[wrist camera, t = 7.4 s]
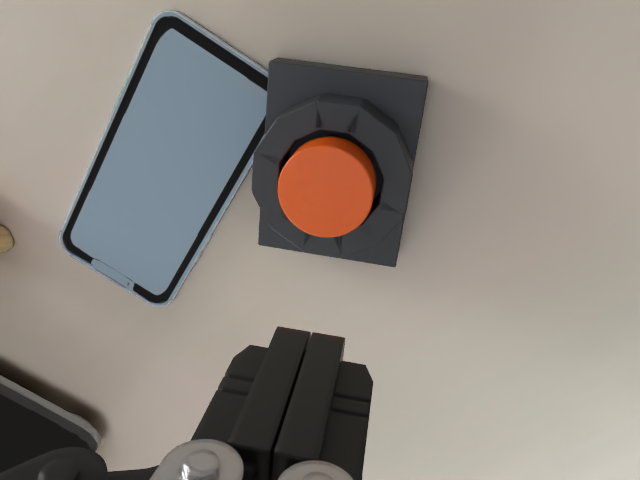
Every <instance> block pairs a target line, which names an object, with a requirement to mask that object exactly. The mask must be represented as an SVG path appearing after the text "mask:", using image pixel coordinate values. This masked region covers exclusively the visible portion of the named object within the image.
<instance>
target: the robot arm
mask: <svg viewBox="0 0 640 480" xmlns="http://www.w3.org/2000/svg"><path fill="white" fill-rule="evenodd" d="M344 345H345V338H343V337H338V336H332V335H326V334H320V333H314V332H313V333H312V335H311V333H310V332H307V331H302V330H296V329H290V328H284V327H277V329H276V331H275V333H274V336H273V338H272V340H271V342H270V345H269V347H268V348H265V347H259V346H253V345H250V346H248V347H247V348H246V349H244V350H243V351H242V352H240V353H239V354H238V355H236V356H235V357H234V358H233V360H232V362H231V364H230V366H229V367H228V369H227V371H226V373H225V377H223V379H222V381H221V383H220V385H219V387H218V390H217V391H216V393H215V395H214V396H213V398H212V400H211V402H210V404H209V406H208V408H207V410H206V412H205V414H204V416H203V418H202V420H201V422H200V423H199V425H198V427H197V429H196V431H195V433H194V435H193V437H192V439H191V441H189V442H186V443H183V444H181V445H179V446H177V447H176V448H174V449H173V450H171V451H170V452H169V453H168V454H167V455H166V456H165V458H164V459H163V460H162V462H161V463H160V465H158V466H155V467H151V468H147V469H139V470H126V471H113V472H107V467H106V463H105V461H104V459H103V458H102V457H101V456H100V455H99V454H97V453H96V452H94V451H92V450H90V449H86V448H81V447H66V448H60V449H56V450H52V451H50V452H47V453H44V454H42V455H40V456H38V457H35V458H33V459H31V460H28V461H26V462H24V463H22V464H19V465H17V466H15V467H13V468H10V469H8V470H6V471H4V472H1V473H0V480H362V471H363V463H364V454H365V446H366V438H367V429H368V421H369V413H370V404H371V396H372V388H373V381H372V378H371V376H370V374H369V372H368V370H367V368H366V365H363V364H357V363H351V362H345V361H343V353H344Z"/></svg>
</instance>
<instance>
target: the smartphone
mask: <svg viewBox="0 0 640 480" xmlns="http://www.w3.org/2000/svg"><path fill="white" fill-rule="evenodd" d="M169 12H170V13H169ZM267 88H268V70H267V69H265V68H263V67H262V66H260V65H259V64H258V63H255V61H253V60H251V59H250V58H249V57H247V56H246V55H244V54H243V53H241V52H240V51H238V50H236V49H234V48H233V47H231V46H230V45H228V44H227V43H225V41H223V40H221V39H220V38H219V37H217V36H216V35H214V34H213V33H211V32H209V31H208V30H206V29H205V28H204V27H201V25H199V24H197V23H196V22H194V21H192V19H189V18H188V17H187V16H186V15H184V14H182V13H181V12H178V11H173V10H169V11H163V12H160V13H159V14H157V15H156V16H155V17H154V18H153V20H152V22H151V24H150V27H149V29H148V31H147V33H146V36H145V38H144V40H143V43H142V45H141V47H140V50H139V52H138V54H137V56H136V59H135V61H134V63H133V66H132V68H131V70H130V72H129V75H128V77H127V79H126V82H125V84H124V86H123V89H122V91H121V93H120V95H119V98H118V100H117V102H116V105H115V107H114V109H113V112H112V114H111V116H110V118H109V121H108V123H107V125H106V128H105V130H104V132H103V134H102V137H101V139H100V141H99V144H98V146H97V148H96V151H95V153H94V155H93V157H92V160H91V162H90V164H89V167H88V169H87V171H86V174H85V176H84V178H83V180H82V183H81V185H80V187H79V190H78V192H77V194H76V196H75V199H74V201H73V203H72V206H71V208H70V210H69V213H68V215H67V217H66V219H65V222H64V224H63V226H62V229H61V231H60V234H59V241H60V244H61V246H62V248H63V249H64V251H65V252H66V253H67V254H68V255H70V256H71V257H73V258H75V259H76V260H78V261H80V262H81V263H83V264H85V265H86V266H88V267H89V268H91V269H93V270H94V271H96V272H98V273H99V274H101V275H103V276H104V277H106V278H107V279H109V280H111V281H112V282H114V283H116V284H117V285H119V286H121V287H122V288H124V289H125V290H127V291H129V292H130V293H132V294H134V295H135V296H137V297H139V298H140V299H142V300H143V301H145V302H147V303H148V304H150V305H152V306H156V307H164V306H167V305H168V304H170V303H171V302H172V300H173V299H174V298H175V297H176V295H177V293H178V292H179V290H180V288H181V286H182V285H183V283H184V281H185V280H186V278H187V276H188V275H189V273H190V271H191V269H192V268H193V266H194V265H195V264H196V262H197V261H198V259H199V257H200V256H201V254H202V252H203V249H204V248H205V247H206V245H207V244H208V242H209V240H210V239H211V237H212V235H213V232H214V230H215V228H216V227H217V225H218V223H219V222H220V220H221V218H222V216H223V215H224V213H225V211H226V210H227V208H228V206H229V204H230V203H231V201H232V199H233V198H234V196H235V194H236V192H237V191H238V189H239V187H240V186H241V184H242V182H243V180H244V179H245V177H246V175H247V174H248V172H249V170H250V169H251V167H252V165H253V157H254V152H255V149H256V147H257V146H258V144H259V143H260V141H261V140H262V139H263V137H264V136H265V121H266V104H267Z"/></svg>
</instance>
